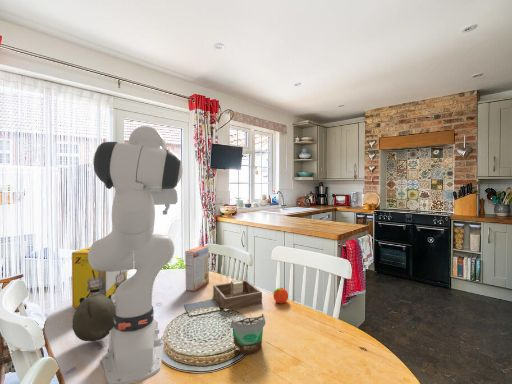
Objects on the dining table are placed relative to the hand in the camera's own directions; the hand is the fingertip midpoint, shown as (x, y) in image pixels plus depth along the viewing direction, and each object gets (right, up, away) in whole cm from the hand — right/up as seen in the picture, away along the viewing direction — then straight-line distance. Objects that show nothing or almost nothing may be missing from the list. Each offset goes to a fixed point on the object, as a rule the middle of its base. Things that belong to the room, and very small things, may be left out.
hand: (154, 215), depth 118 cm
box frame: (+36, -42, +10) cm, 56 cm away
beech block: (+36, -42, +10) cm, 56 cm away
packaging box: (-29, -42, +9) cm, 52 cm away
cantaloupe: (-12, -28, -20) cm, 36 cm away
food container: (+43, -43, -30) cm, 68 cm away
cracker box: (+13, -42, +28) cm, 52 cm away
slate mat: (+21, -42, +1) cm, 47 cm away
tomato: (+56, -42, +6) cm, 71 cm away
